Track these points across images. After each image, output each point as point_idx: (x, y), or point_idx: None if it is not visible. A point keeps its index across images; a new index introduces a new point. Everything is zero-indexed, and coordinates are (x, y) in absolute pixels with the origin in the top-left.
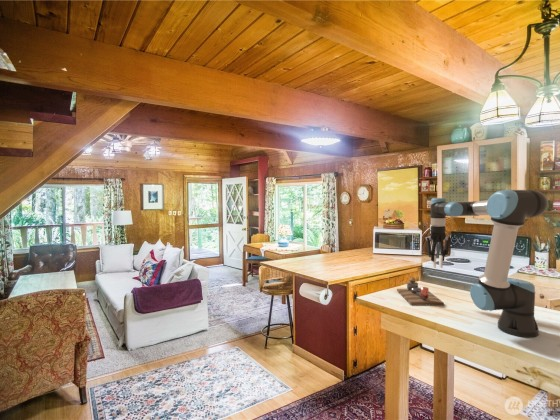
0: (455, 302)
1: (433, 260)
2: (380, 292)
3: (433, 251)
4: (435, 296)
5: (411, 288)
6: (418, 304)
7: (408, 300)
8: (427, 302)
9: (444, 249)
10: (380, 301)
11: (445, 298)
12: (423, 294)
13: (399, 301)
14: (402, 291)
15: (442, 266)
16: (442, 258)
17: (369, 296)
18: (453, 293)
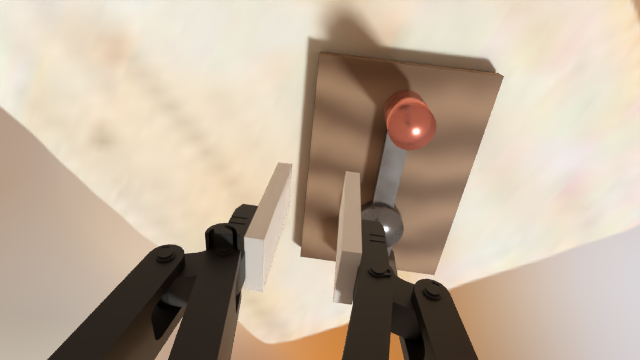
0: (236, 95)
1: (365, 226)
2: (517, 263)
3: (380, 316)
4: (311, 154)
5: (403, 230)
6: (456, 68)
7: (490, 112)
8: (408, 66)
9: (156, 350)
10: (615, 149)
11: (258, 155)
12: (423, 101)
13: (513, 139)
14: (432, 239)
15: (276, 167)
16: (255, 216)
17: (613, 222)
18: (192, 212)
